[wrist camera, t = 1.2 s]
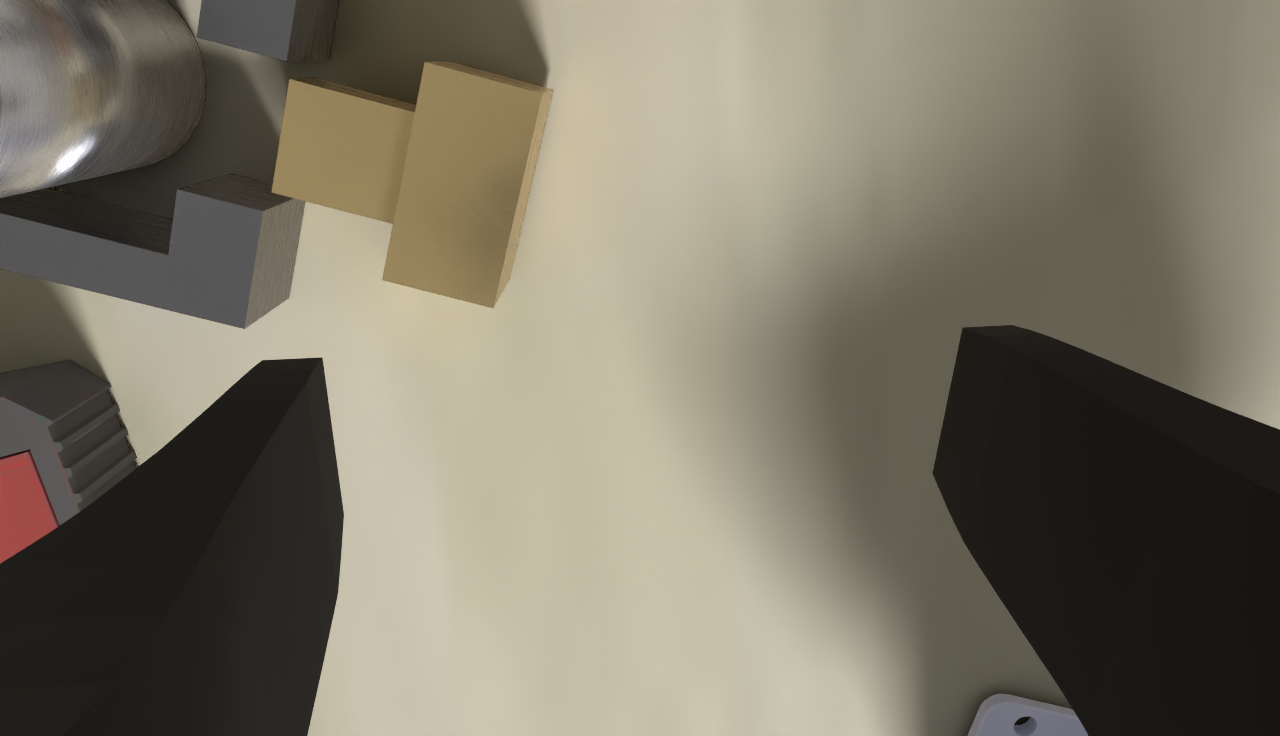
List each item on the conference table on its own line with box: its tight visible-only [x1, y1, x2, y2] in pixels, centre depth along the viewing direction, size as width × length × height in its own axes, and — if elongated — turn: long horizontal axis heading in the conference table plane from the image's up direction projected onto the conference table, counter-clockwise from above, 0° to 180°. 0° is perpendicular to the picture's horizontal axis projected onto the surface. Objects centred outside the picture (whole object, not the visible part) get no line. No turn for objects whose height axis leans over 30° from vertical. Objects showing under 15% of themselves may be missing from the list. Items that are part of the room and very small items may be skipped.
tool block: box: [0, 0, 339, 329], centre depth 18 cm, size 8×7×2 cm
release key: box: [272, 62, 553, 308], centre depth 18 cm, size 4×4×2 cm
